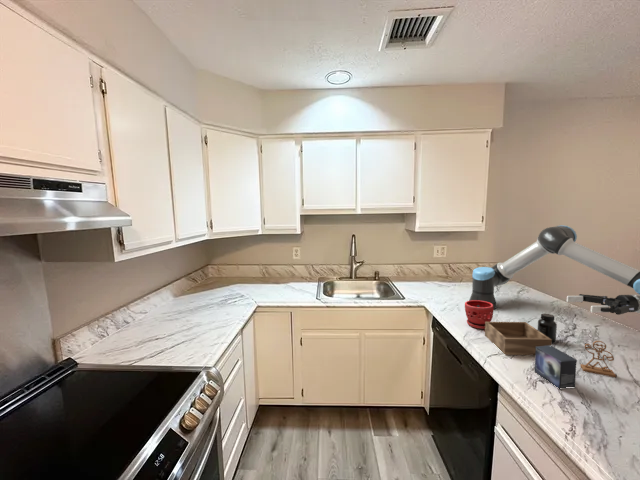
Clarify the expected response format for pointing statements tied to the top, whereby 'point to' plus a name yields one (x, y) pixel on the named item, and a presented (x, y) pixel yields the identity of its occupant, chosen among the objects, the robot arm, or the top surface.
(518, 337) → the walnut box
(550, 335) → the supplement bottle
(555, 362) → the small box
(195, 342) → the top surface
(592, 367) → the gingerbread man figurine
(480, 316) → the plant pot
